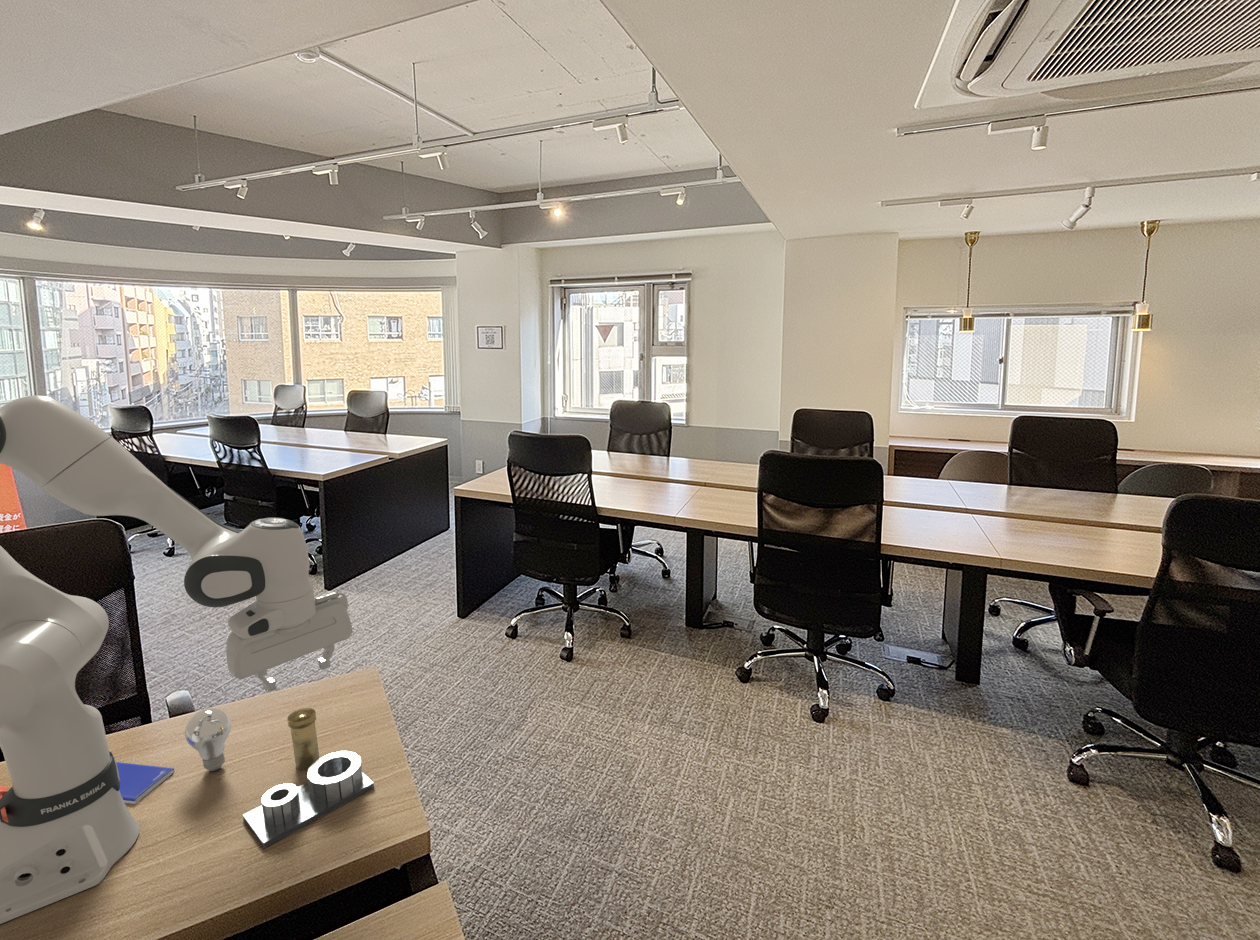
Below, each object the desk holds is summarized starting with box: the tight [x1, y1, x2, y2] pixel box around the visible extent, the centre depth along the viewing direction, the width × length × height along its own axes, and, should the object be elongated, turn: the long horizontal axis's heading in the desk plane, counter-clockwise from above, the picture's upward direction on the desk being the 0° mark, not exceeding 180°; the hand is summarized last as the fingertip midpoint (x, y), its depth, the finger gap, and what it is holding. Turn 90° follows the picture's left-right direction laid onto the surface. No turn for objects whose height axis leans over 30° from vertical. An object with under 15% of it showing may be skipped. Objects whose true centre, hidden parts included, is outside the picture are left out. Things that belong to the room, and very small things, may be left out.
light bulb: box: [184, 707, 232, 772], centre depth 117 cm, size 7×7×12 cm
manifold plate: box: [242, 750, 375, 849], centre depth 109 cm, size 18×9×4 cm, turn 138°
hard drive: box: [116, 761, 175, 805], centre depth 115 cm, size 2×8×12 cm
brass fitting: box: [286, 707, 321, 771], centre depth 119 cm, size 5×5×10 cm
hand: (298, 678), depth 116 cm, fingers open, 8 cm apart
